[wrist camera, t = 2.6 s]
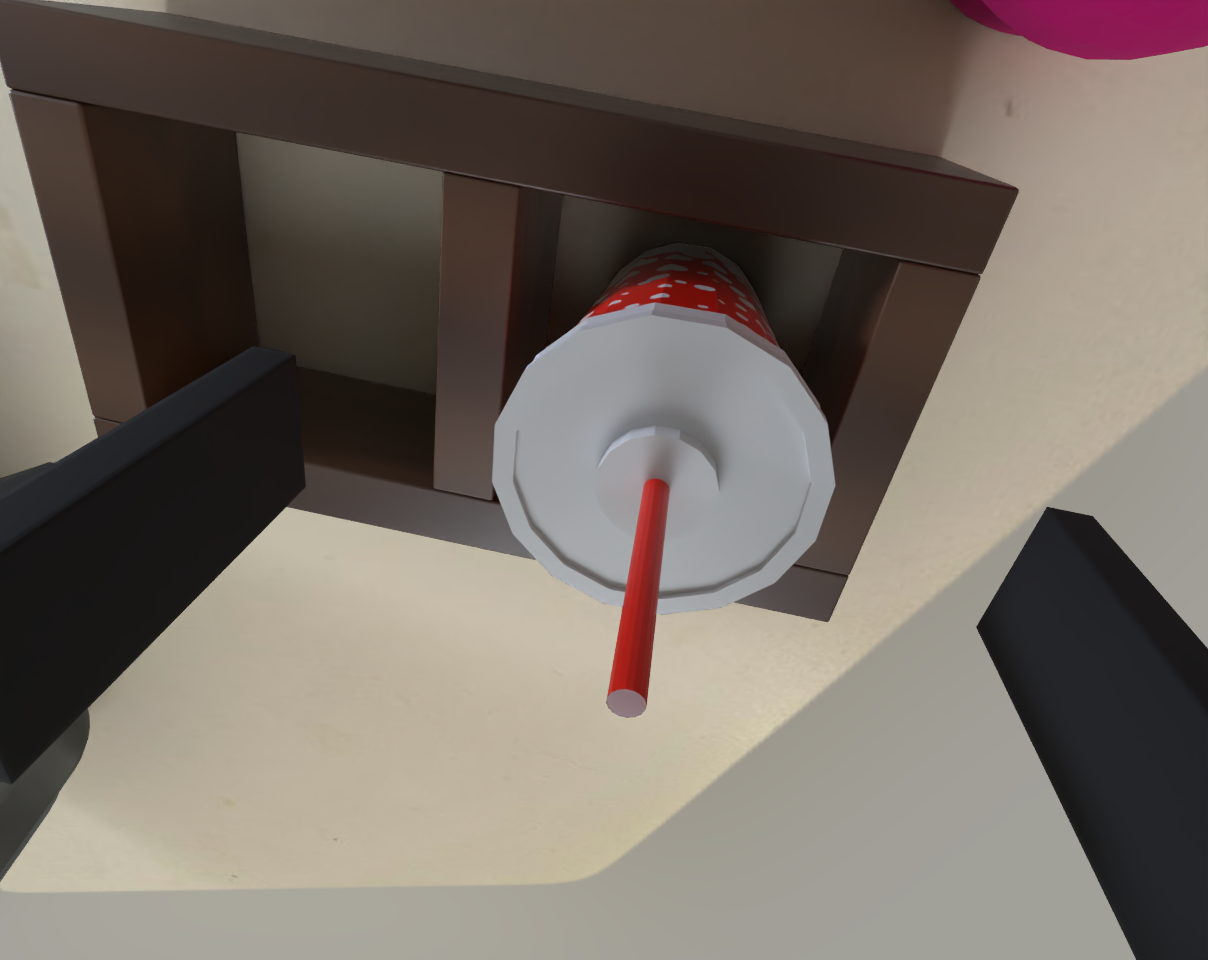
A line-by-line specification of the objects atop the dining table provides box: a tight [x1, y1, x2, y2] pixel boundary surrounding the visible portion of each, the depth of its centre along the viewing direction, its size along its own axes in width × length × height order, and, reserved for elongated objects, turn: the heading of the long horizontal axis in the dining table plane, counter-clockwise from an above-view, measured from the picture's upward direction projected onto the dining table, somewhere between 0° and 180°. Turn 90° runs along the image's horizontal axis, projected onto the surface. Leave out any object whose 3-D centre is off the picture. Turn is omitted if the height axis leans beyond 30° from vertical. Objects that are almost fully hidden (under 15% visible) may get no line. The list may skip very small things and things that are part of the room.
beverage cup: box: [492, 243, 835, 718], centre depth 14 cm, size 6×6×14 cm
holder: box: [0, 0, 1019, 622], centre depth 18 cm, size 11×20×5 cm, turn 81°
